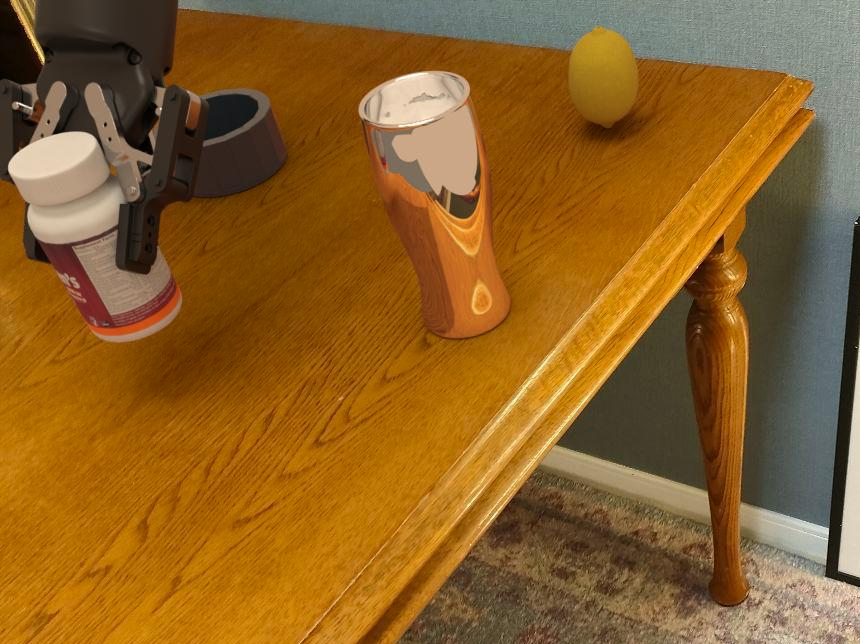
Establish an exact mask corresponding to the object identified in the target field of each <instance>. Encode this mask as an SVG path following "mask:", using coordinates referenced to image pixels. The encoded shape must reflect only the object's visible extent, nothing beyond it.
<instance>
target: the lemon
mask: <svg viewBox="0 0 860 644" xmlns="http://www.w3.org/2000/svg"><path fill="white" fill-rule="evenodd" d="M567 73H568V74H567V80H568V82H567V83H568V90H569V94H570V97H571V98H570V99H571V100H572V103H573V105H574V107H575V108H576V109H575V110H577V112H578V113H579V115H581V116H582V117H583V118H584V119H585V120H586V121H589V122H591V123H593V124H596V125H600V126H602V127H603V128H604V129H611V128H612V127H613V126H614V125H615V123H617V122H619V121H621V120H622V119H624V118H625V117H626V116H627V115H628V114H629V113H630V111H631V110H632V108H633V107H634V105H635V103H636V100H637V96H638V91H639V80H640V79H639V69H638V64H637V60H636V57H635V55H634V52H633V49H632V47H631V45H630V43H629V42H628V41H627V39H626V38H624V36H622V35H621V34H620V33H618V32H616V31H614V30H611V29H607V28H604V27H603V26H601V25H599V26H595V27H593V29H592V30H590V31H589V32H587V33H585V34H584V35H583V36H582V37H580V39H579V40H578V41H577V42H576V44H575V45H574V47H573V49H572V51H571V53H570V57H569V62H568V71H567Z"/></svg>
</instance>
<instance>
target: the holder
mask: <svg viewBox="0 0 860 644" xmlns="http://www.w3.org/2000/svg"><path fill="white" fill-rule="evenodd" d="M197 96H198V97H200V98H202V99H204V100H206V101H207V102H208V104H209V115H208V121H207V126H206V131H205V137H204V142H203V147H202V153H201V158H200V164H199V169H198V174H197V180H196V185H195V190H194V195H193V198H194V197H195V198H221V197H225V196H230V195H234V194H238V193H241V192H244V191H247V190H249V189H251V188H254V187H256V186H259V185H260V184H262V183H263V182H266V181H267V180H269V179H270V178H271V177H273V176H274V175H275V174H276V173H277V172H279V171H280V169H281V168H282V167H283V166H284V164H286V161H287V158H288V149H287V145H286V142H285V138H284V136H283V133H282V130H281V127H280V125H279V122H278V119H277V116H276V114H275V111H274V108H273V106H272V103H271V100H270V98H269V96H267V95H266V94H265V93H263V92H261V91H259V90H258V89H251V88H243V87H239V88H229V89H220V90H216V91H212V92H209V93H205V94H201V95H197ZM158 126H159V121H157V123H156V124H155V126H154V127H153V134H154V137H155V140H156V138H157V132H158ZM176 166H177V157H176V162H175V167H174V173H173V177H175V171H176Z"/></svg>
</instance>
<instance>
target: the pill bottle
mask: <svg viewBox="0 0 860 644" xmlns="http://www.w3.org/2000/svg"><path fill="white" fill-rule="evenodd" d="M111 169H112V168H111V164H110V163H109V162H108V160H107V158H106V156H105V155H104V153H103V151H102V149H101V147H100V145H99V143H98V141H97V140H96V138H95V137H94V136H93V135H91V134H88V133H85V132H65V133H60V134H56V135H52V136H49V137H46V138H43V139H40V140H38V141H36V142H34V143H32V144H30V145H28V146H26V147H25V148H23V149H22V148H21V149H19V152H18V153H17V154H15V155H14V157H13V158H12V159H11V161H10V162H9V165H8V171H9V173H10V175H11V177H12V179H13V181H14V182H15V184H16V186H15V187H16V188H17V190H18V192H19V194H20V196H21V197H22V199H23V200H24V201H25V203H26V202H28V203H30V206H29V209H28V214H27V218H28V223H29V226H30V228H31V230H32V232H33V234H34V235H35V237H36V239H37V241H38V242H39V244H40V245H41V247H42V249H43V250H44V252H45V254H46V255H47V257H48V259H49V260H50V262H51V263H52V264H51V265H52V267H53V268H54V270H55V272H56V274H57V276H58V277H59V279H60V281H61V283H62V284H63V286H64V287H65V289H66V291H67V292H68V295H69V296H70V298H71V299H72V301H73V303H74V304H75V306H76V308H77V309H78V311H79V313H80V315H81V316H82V318H83V320H84V321H85V323H86V324H87V326H88V328H89V329H90V331H91V332H92V334H94V335H95V336H96V337H97V338H99V339H101V340H102V341H105V342H109V343H128V342H129V343H130V342H135V341H138V340H141V339H144V338H147V337H149V336H152V335H154V334H156V333H158V332H160V331H161V330H163V329H164V328H166V327H167V326H169V325H170V324H171V323H172V322H173V321H174V320H175V318H176V317H177V315H178V314H179V313H180V311H181V307H182V304H183V295H182V291H181V290H180V287H179V285H178V283H177V280H176V279H175V277H174V275H173V272H172V270H171V269H170V267H169V265H168V262H167V260H166V258H165V256H164V255H163V252H162V251H161V248H160V246H159V245H158V246H157V248H158V250H157V258H156V260H155V263H154V265H151V271H150V273H149V274H147V275H143V274H135V273H131V272H127V271H123V270H120V269H118V268H117V266H116V263H115V257H116V245H117V233H118V220H119V208H120V204H128V201H127V200H126V199H125V198H124V196H123V192H122V189H121V186H120V183H119V179H118V176H117V174H116V175H115V174H114V173H111V171H112V170H111Z"/></svg>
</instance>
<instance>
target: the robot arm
mask: <svg viewBox="0 0 860 644" xmlns="http://www.w3.org/2000/svg"><path fill="white" fill-rule="evenodd" d="M34 5H35V7H34V20H33V36H34V37H35V40H36V42H37V43H38V44H39V47H40V48H41V51H42V53H43V57H44V61H43V65H42V69H41V71H40V73H39V75H38V78H37V79H36V83H35V82H34V83H25V84H19V83H17V82H14V81H12V80H9V79H7V78H2V79H1V80H0V180H1V181H4V182H7V183H10V184H11V185H13V186H15V187H17V186H16V184H15V182H14V181H13V179H12V177H11V175H10V173H9V171H8V165H9V162H10V161H11V159H12V158H13V157H14V155H15V154H17V153H18V152H19V151H20V148H21V150H22V149H23V148H25V147H26V146H28V145H30V144H32V143H34V142H36V141H38V140H40V139H43V138H46V137H49V136H52V135H56V134H60V133H65V132H85V133H88V134H91V135H93V136H94V137H95V138H96V140H97V141H98V143H99V145H100V147H101V149H102V151H103V153H104V155H105V157H106V158H107V160H108V162H109V164H110V166H112V167H113V168H114V170H115V172H116V173H115V174H116V176H118V179H119V183H120V186H121V189H122V192H123V196H124V198H125V199H126V200H127V201H128V204H120V208H119V220H118V233H117V245H116V257H115V263H116V266H117V268H118V269H120V270H123V271H127V272H131V273H135V274H143V275H147V274H149V273H150V271H151V265H154V263H155V260H156V258H157V250H158V248H157V246H159V238H160V237H159V236H160V227H161V225H160V224H161V215H162V212H163V211H165V210H166V209H167V208H168V206H169V205H172V204H174V203H177V202H181V203H184V204H186V203H189V202H191V200H192V199H193V198H194V196H193V195H194V190H195V185H196V180H197V174H198V169H199V164H200V158H201V153H202V147H203V142H204V137H205V131H206V126H207V121H208V115H209V104H208V102H207V101H206V100H204V99H202V98H200V97H198V96H199V95H198V94H195V93H194V92H193V91H190V90H188V89H186V88H183V87H181V86H179V85H177V84H173V83H172V84H170V85H168V86H167V87H166V84H165V77H166V76H168V75H169V74H170V73H171V71H172V69H173V66H174V57H175V44H176V32H177V22H178V12H179V11H178V9H179V0H35V3H34ZM158 122H159V126H158V132H157V138H156V140H155V137H154V128H155V126H156V125H157V124H158ZM176 157H177V166H176V171H175V177H173V173H174V167H175V162H176ZM24 205H25V206H24V221H23V223H24V224H23V234H22V244H23V247H24V250H25V256H26V257H27V259H29V261H33V262H37V263H41V264H46V265H52V263H51V262H50V260H49V259H48V257H47V255H46V254H45V252H44V250H43V249H42V247H41V245H40V244H39V242H38V241H37V239H36V237H35V235H34V234H33V232H32V230H31V228H30V226H29V223H28V218H27V214H28V209H29V206H30V203H28V202H26V201H25V204H24Z"/></svg>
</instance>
